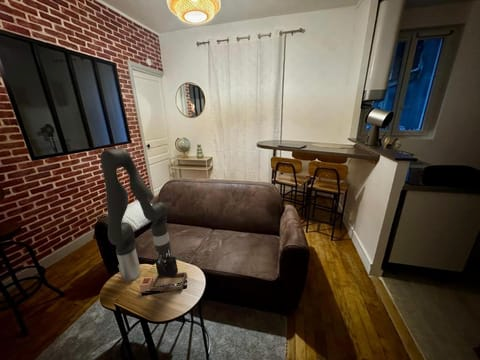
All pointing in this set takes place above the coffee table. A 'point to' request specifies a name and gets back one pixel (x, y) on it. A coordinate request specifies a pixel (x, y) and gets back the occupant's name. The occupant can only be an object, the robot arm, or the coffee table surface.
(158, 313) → the coffee table surface
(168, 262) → the electronic device
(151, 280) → the orange open cube box
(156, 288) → the trough
